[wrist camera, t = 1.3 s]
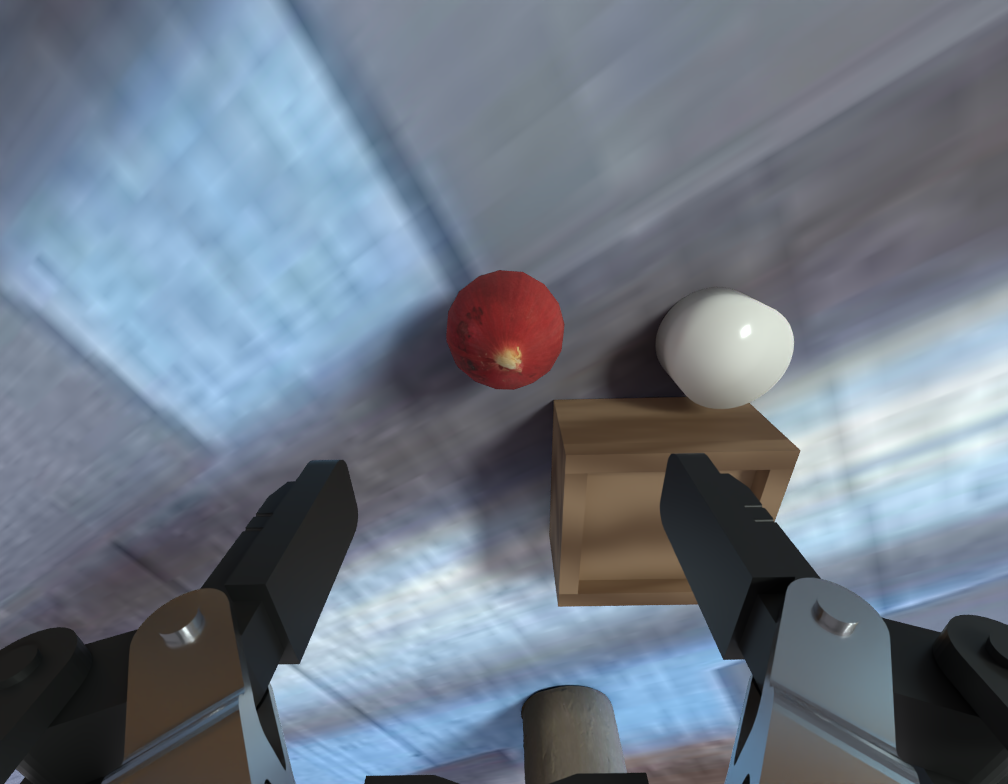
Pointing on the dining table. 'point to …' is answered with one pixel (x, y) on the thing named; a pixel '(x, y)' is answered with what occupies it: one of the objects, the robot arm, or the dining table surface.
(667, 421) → the brown open square tray
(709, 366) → the white rounded pebble
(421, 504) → the dining table surface
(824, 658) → the robot arm
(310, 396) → the dining table surface
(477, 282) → the onion
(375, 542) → the dining table surface
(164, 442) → the dining table surface
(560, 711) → the pillar candle
